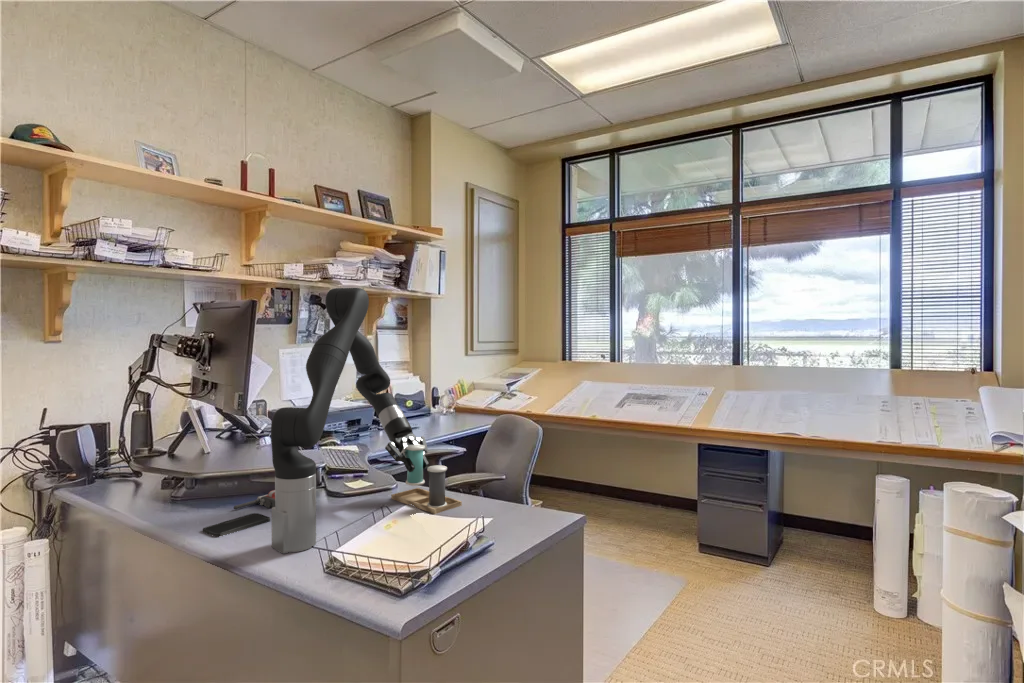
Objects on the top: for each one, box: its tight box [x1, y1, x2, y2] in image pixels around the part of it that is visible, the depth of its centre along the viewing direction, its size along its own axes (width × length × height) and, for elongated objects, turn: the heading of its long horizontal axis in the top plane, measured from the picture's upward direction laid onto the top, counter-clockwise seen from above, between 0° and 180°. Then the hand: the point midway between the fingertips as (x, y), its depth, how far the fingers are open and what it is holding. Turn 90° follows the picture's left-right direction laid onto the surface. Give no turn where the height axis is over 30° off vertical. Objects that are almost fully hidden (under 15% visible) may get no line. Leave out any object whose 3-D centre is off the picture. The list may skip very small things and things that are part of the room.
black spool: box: [426, 464, 448, 509], centre depth 162 cm, size 6×6×11 cm
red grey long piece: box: [233, 489, 275, 510], centre depth 167 cm, size 9×4×20 cm
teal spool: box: [405, 444, 426, 486], centre depth 169 cm, size 6×6×11 cm
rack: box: [390, 487, 463, 515], centre depth 166 cm, size 20×10×3 cm, turn 48°
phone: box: [202, 512, 271, 538], centre depth 149 cm, size 8×1×15 cm
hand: (419, 468), depth 167 cm, fingers closed on teal spool, 4 cm apart
